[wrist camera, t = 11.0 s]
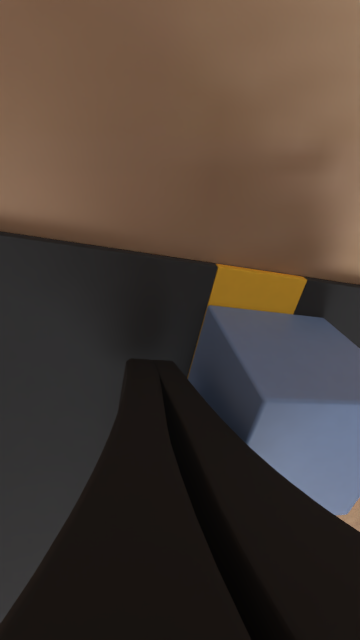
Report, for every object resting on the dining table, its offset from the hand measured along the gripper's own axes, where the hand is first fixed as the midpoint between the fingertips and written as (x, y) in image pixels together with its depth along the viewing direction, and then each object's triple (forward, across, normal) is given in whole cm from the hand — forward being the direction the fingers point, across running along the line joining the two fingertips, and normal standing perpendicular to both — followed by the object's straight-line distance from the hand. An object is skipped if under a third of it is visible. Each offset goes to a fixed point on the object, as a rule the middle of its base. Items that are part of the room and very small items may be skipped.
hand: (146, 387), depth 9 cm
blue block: (+1, -4, 0) cm, 4 cm away
